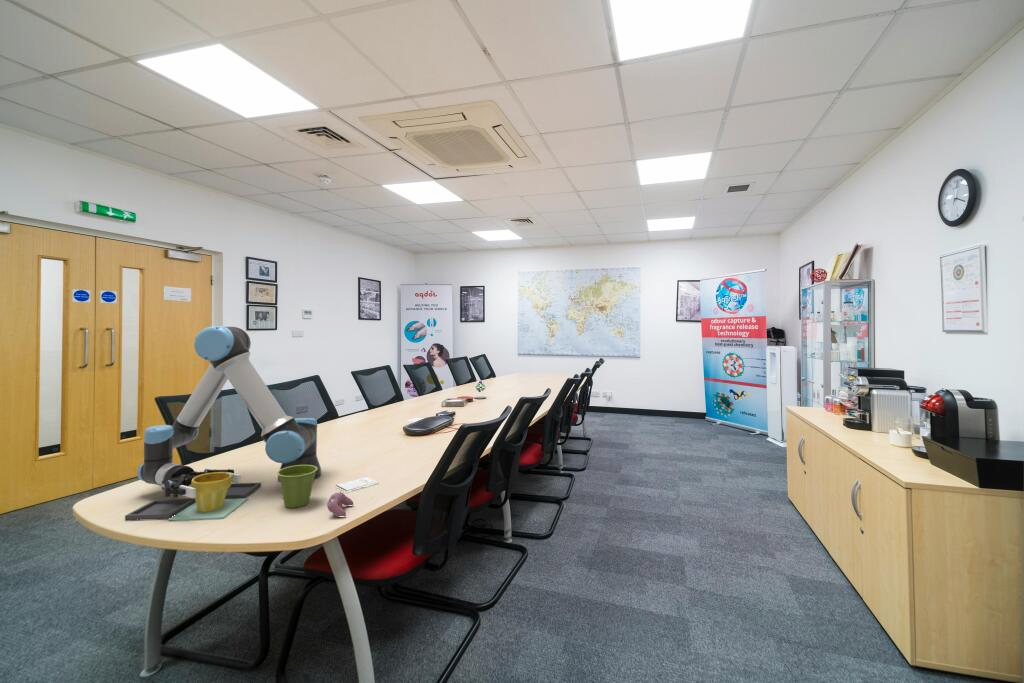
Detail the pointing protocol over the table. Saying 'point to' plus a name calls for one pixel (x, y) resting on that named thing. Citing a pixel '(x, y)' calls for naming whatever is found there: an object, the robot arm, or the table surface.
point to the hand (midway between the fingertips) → (218, 485)
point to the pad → (221, 513)
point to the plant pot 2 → (297, 484)
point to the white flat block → (356, 483)
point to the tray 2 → (241, 490)
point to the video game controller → (338, 503)
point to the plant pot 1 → (211, 490)
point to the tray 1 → (160, 509)
